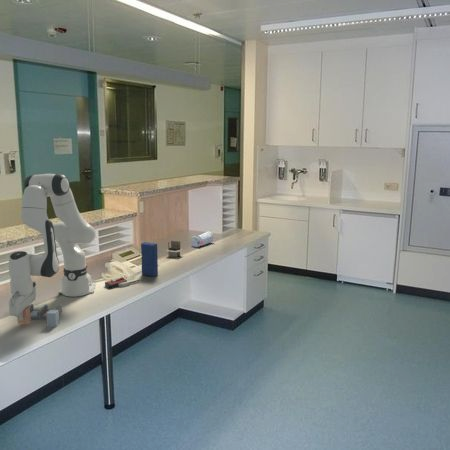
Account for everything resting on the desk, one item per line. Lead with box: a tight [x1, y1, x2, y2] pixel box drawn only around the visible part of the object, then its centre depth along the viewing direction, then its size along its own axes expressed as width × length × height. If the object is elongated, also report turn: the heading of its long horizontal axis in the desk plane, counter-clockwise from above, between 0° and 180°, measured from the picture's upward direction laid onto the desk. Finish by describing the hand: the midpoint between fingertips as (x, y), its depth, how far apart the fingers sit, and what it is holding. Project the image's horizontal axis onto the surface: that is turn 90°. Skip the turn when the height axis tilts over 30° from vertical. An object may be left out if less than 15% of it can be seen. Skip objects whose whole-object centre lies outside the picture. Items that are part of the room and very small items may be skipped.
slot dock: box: [30, 303, 63, 321], centre depth 219 cm, size 10×15×4 cm, turn 90°
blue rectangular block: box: [140, 241, 159, 277], centre depth 282 cm, size 10×5×20 cm, turn 62°
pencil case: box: [190, 231, 215, 248], centre depth 359 cm, size 21×9×10 cm, turn 146°
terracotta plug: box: [17, 307, 32, 325], centre depth 207 cm, size 4×4×6 cm
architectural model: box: [166, 240, 183, 259], centre depth 325 cm, size 19×17×11 cm
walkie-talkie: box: [104, 276, 141, 290], centre depth 265 cm, size 9×4×20 cm
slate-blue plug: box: [46, 310, 60, 328], centre depth 208 cm, size 4×4×6 cm
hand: (24, 317), depth 207 cm, fingers closed on terracotta plug, 4 cm apart
